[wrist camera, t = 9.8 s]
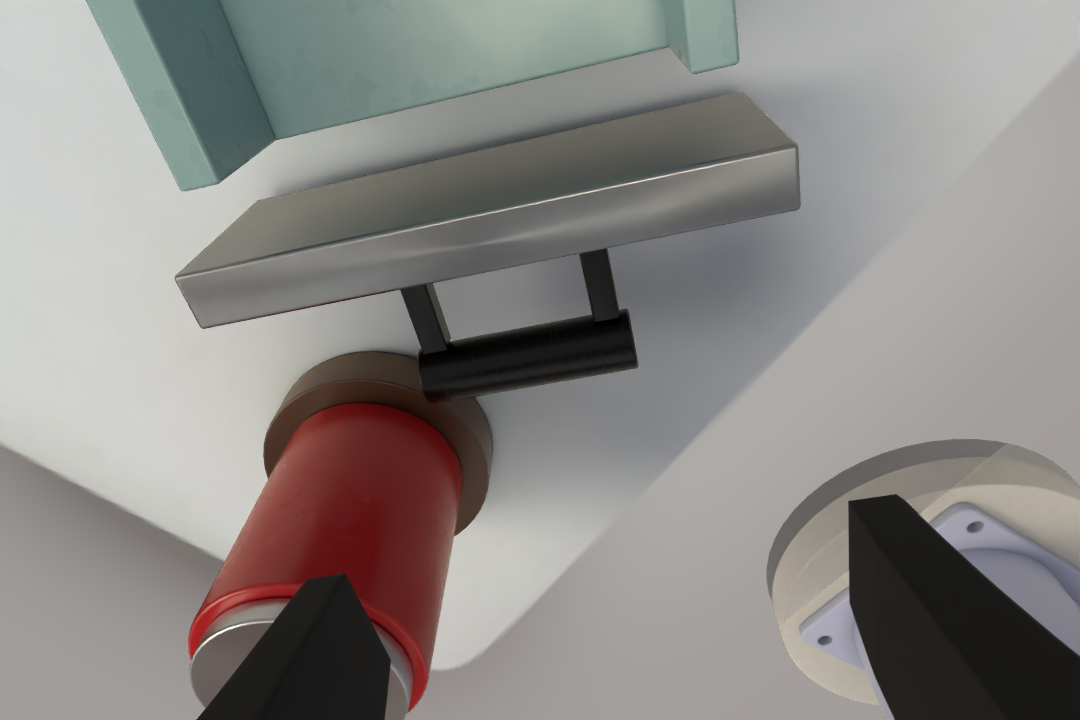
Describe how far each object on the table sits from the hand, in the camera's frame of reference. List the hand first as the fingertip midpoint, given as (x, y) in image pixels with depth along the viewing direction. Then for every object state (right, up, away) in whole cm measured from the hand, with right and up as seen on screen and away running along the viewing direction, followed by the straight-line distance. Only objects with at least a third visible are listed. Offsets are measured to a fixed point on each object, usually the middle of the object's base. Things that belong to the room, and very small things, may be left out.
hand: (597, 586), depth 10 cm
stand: (-6, +1, +12) cm, 13 cm away
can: (-6, 0, +11) cm, 12 cm away
